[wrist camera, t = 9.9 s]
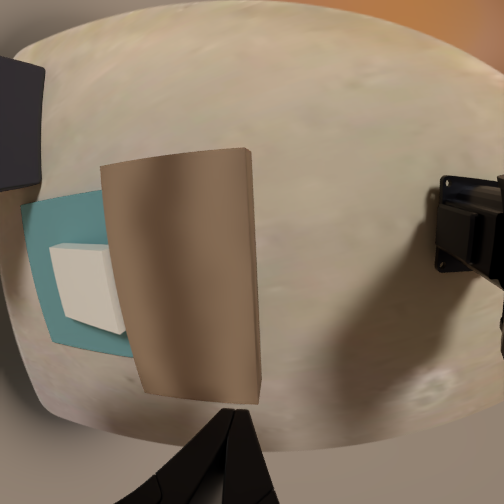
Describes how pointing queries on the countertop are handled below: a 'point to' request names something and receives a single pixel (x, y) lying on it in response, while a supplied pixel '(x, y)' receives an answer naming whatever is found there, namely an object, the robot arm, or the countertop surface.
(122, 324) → the tile
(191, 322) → the wooden board
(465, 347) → the countertop surface
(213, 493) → the robot arm
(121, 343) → the mat
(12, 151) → the calculator
